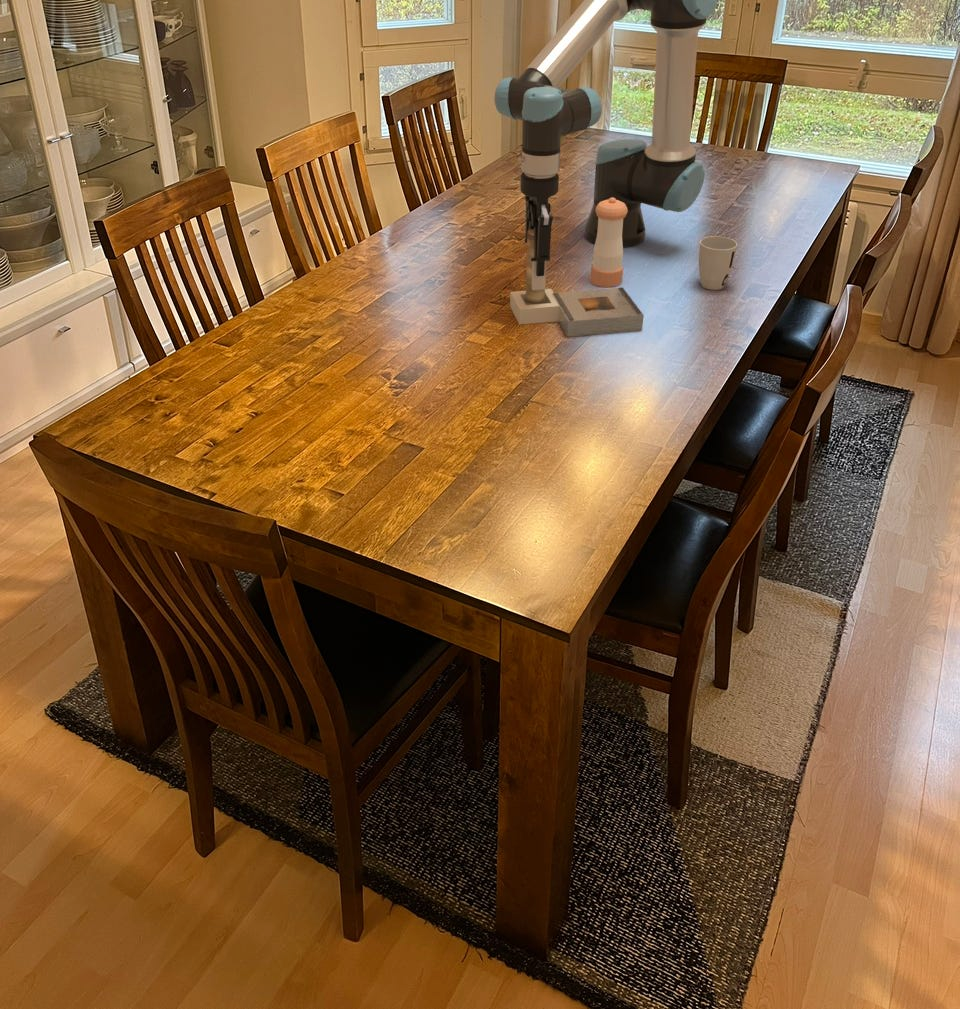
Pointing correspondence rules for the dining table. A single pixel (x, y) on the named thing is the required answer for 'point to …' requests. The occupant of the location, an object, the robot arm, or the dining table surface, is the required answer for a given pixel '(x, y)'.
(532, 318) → the holder
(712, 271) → the cup
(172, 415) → the dining table surface
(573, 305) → the grey square frame
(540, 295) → the brown wooden cylinder
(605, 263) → the salt shaker
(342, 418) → the dining table surface
